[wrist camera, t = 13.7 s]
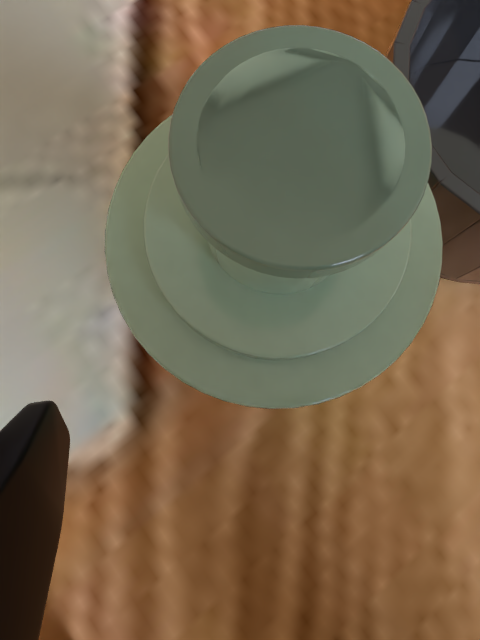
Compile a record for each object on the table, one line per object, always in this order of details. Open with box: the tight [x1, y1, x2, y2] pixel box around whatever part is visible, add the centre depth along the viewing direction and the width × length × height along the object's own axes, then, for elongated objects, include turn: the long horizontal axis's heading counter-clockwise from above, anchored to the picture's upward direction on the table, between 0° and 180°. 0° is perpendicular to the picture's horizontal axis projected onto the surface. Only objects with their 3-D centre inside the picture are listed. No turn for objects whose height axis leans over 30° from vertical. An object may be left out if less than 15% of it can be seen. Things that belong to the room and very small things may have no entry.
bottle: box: [105, 25, 443, 409], centre depth 11 cm, size 6×6×12 cm
